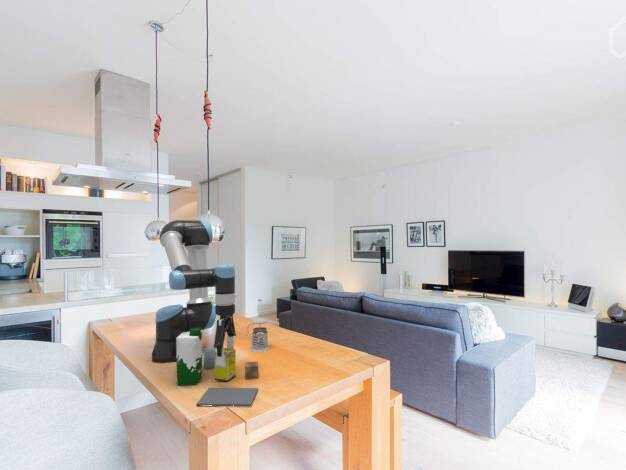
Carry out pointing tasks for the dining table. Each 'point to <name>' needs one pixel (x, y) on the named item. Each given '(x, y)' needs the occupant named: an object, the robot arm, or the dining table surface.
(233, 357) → the supplement box
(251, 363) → the walnut block
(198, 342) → the soya milk
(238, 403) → the charcoal mat
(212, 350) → the slate-blue pebble
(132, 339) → the dining table surface
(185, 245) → the robot arm
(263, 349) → the grey wire-handled lantern
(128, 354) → the dining table surface
